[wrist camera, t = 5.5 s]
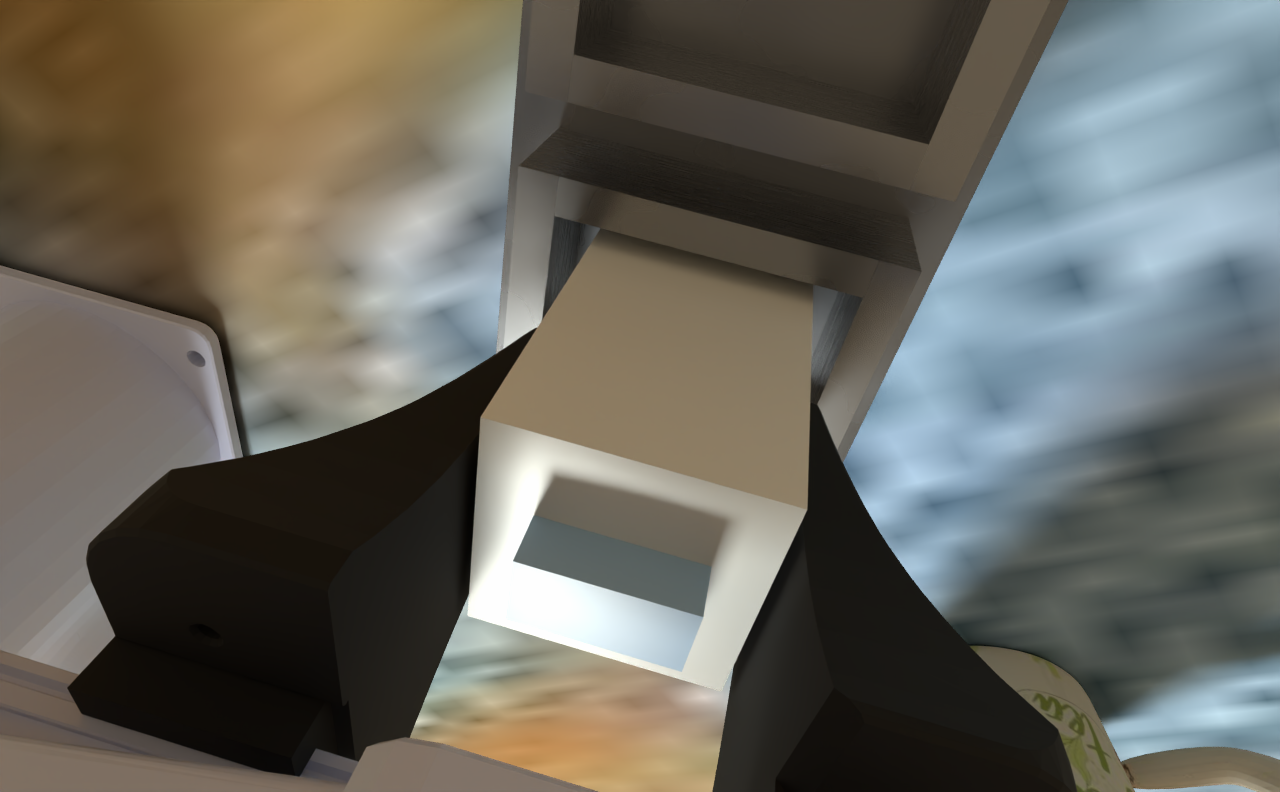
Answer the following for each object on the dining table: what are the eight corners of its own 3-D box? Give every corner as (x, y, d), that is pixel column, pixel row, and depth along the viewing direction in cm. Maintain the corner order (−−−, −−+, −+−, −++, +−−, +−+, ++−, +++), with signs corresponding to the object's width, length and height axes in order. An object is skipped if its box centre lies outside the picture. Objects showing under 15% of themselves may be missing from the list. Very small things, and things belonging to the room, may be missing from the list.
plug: (756, 414, 16) (715, 742, 10) (587, 367, 17) (445, 660, 10) (814, 257, 14) (806, 561, 8) (615, 204, 14) (452, 460, 8)
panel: (828, 478, 18) (828, 563, 16) (499, 387, 18) (455, 457, 16) (1249, -399, 9) (1392, -491, 7) (576, -538, 9) (498, -668, 7)
